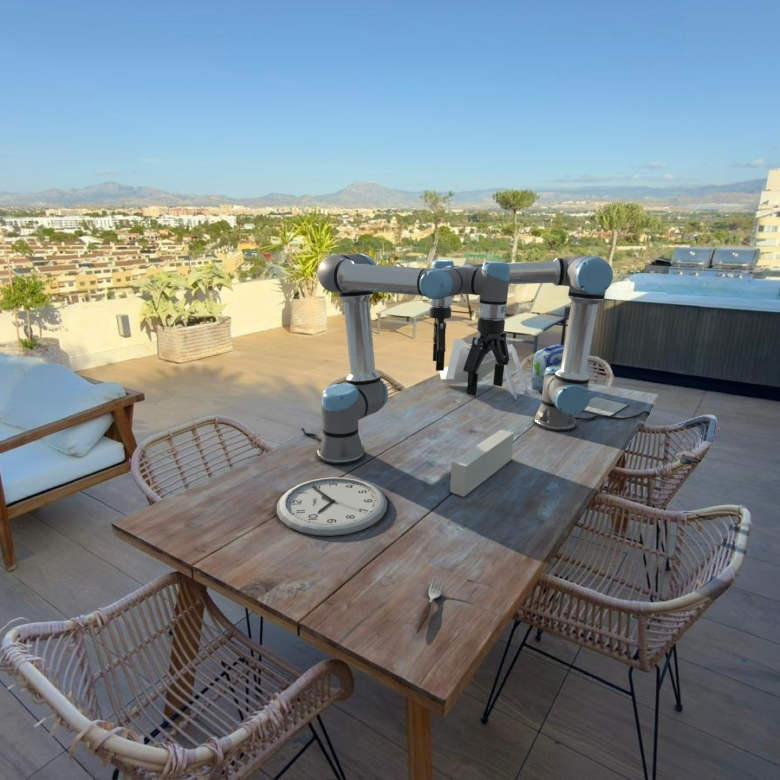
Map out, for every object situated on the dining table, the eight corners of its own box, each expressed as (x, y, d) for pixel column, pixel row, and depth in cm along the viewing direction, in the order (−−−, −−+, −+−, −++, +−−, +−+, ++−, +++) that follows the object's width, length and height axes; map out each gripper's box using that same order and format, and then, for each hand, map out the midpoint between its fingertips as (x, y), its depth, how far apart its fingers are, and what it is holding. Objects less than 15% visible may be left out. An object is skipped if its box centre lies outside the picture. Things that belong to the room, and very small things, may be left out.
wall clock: (392, 527, 129) (268, 531, 127) (391, 533, 130) (269, 537, 127) (383, 473, 158) (282, 475, 155) (383, 478, 158) (282, 480, 156)
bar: (498, 455, 176) (500, 429, 173) (511, 459, 173) (513, 432, 170) (449, 491, 151) (451, 461, 148) (464, 496, 149) (466, 466, 146)
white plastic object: (461, 429, 252) (437, 405, 227) (444, 352, 274) (420, 323, 250) (535, 404, 240) (518, 377, 215) (510, 326, 262) (492, 293, 237)
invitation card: (608, 416, 214) (573, 407, 224) (608, 416, 214) (573, 408, 224) (628, 404, 229) (594, 396, 238) (628, 405, 229) (594, 397, 238)
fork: (410, 633, 98) (410, 625, 97) (432, 582, 112) (433, 574, 112) (423, 637, 97) (423, 628, 96) (444, 585, 111) (445, 577, 111)
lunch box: (547, 397, 237) (552, 352, 231) (526, 391, 245) (531, 348, 238) (574, 386, 255) (580, 344, 249) (554, 381, 262) (559, 340, 256)
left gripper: (477, 325, 136) (470, 402, 142) (526, 315, 153) (518, 384, 160) (454, 321, 141) (448, 395, 147) (504, 312, 158) (497, 379, 165)
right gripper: (427, 301, 193) (425, 357, 199) (432, 311, 169) (430, 374, 175) (447, 301, 193) (445, 357, 199) (455, 311, 169) (452, 375, 175)
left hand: (484, 390), depth 154 cm, fingers open, 13 cm apart
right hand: (438, 365), depth 187 cm, fingers open, 13 cm apart
